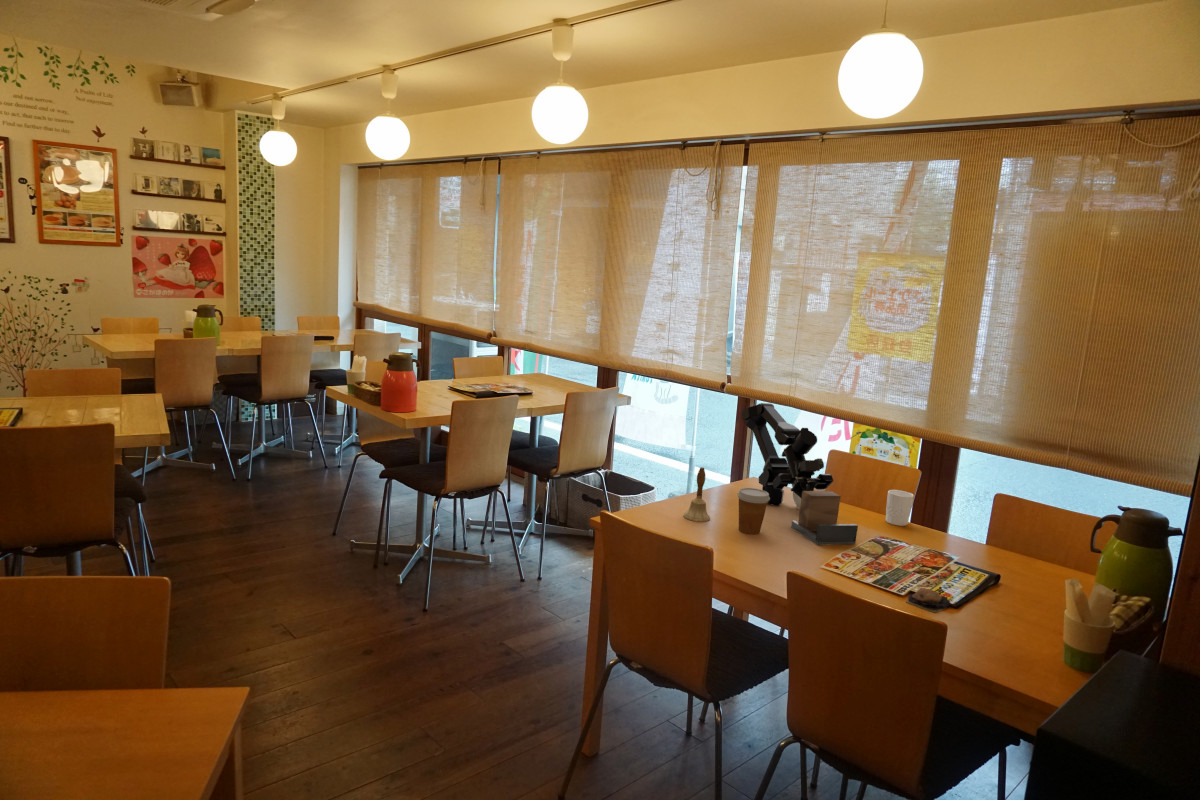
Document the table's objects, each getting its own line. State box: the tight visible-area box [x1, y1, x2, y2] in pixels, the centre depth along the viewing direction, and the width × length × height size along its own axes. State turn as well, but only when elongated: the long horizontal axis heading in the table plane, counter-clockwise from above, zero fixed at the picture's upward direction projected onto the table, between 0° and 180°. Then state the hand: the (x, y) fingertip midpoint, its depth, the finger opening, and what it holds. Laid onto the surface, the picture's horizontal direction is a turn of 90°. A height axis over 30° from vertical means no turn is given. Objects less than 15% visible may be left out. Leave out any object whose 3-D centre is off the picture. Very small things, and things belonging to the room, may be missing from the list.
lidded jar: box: [792, 488, 827, 510], centre depth 255 cm, size 11×11×9 cm
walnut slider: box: [797, 490, 841, 531], centre depth 231 cm, size 5×10×11 cm, turn 106°
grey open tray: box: [790, 520, 859, 546], centre depth 229 cm, size 15×13×6 cm
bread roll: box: [905, 588, 951, 614], centre depth 185 cm, size 11×8×4 cm
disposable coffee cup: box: [737, 487, 770, 535], centre depth 227 cm, size 10×10×12 cm
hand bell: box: [683, 467, 711, 523], centre depth 235 cm, size 8×8×16 cm
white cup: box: [885, 489, 915, 527], centre depth 249 cm, size 8×8×10 cm
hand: (810, 505), depth 236 cm, fingers closed
